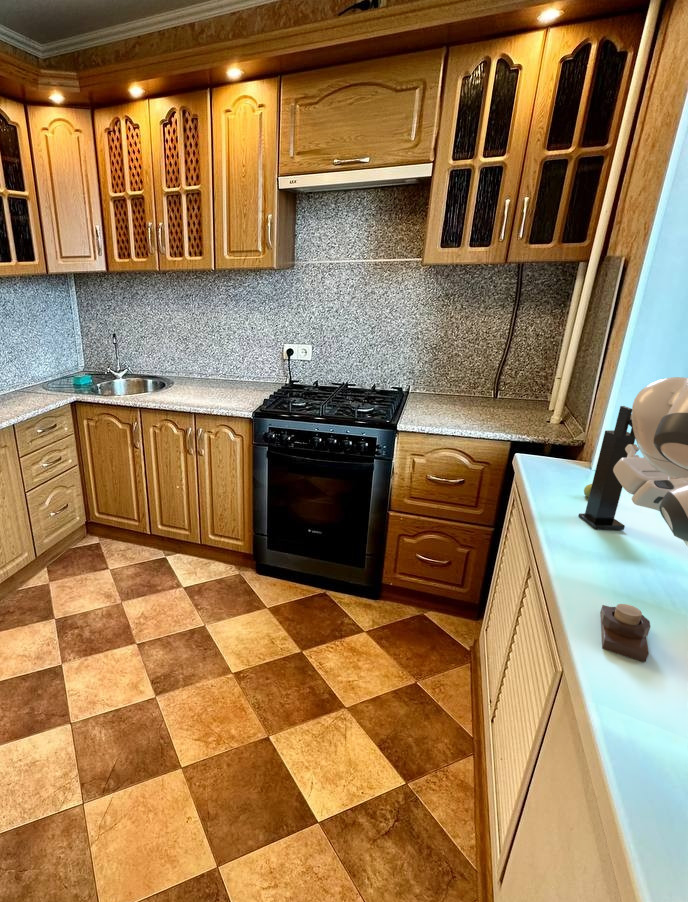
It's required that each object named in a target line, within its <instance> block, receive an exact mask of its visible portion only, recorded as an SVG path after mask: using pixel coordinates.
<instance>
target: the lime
mask: <svg viewBox="0 0 688 902" xmlns="http://www.w3.org/2000/svg"><path fill="white" fill-rule="evenodd" d="M591 487H592V483H589V484H587V485H586V486H584V488H583V494H584V496H585V497H587V499H589V495H590V491H591Z"/></svg>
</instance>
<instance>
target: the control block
mask: <svg viewBox="0 0 688 902" xmlns="http://www.w3.org/2000/svg"><path fill="white" fill-rule="evenodd" d="M615 609H616V606H609V605H606V604H605V605H604V604H602V605H601V608H600V611H599V614H600V630H601V631H600V632H601V633H600V636H601V649H602V650H605V651H608V652H611V653H614V654H616V655H620V656H623V657H627V658H630V659H633V660H637V661H641V662H644V663H647V659H648V656H649V647H648V641H647V637H648V636H649V633H650V631H651V622H650V621H651V620H650V619H648V618H647V617H645V615H643V614H642V616H641V619H640V622H639V624H638V625H629V624H626V623H623V622H621V621H619V620H617V619H616V618H614V613H615Z"/></svg>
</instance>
